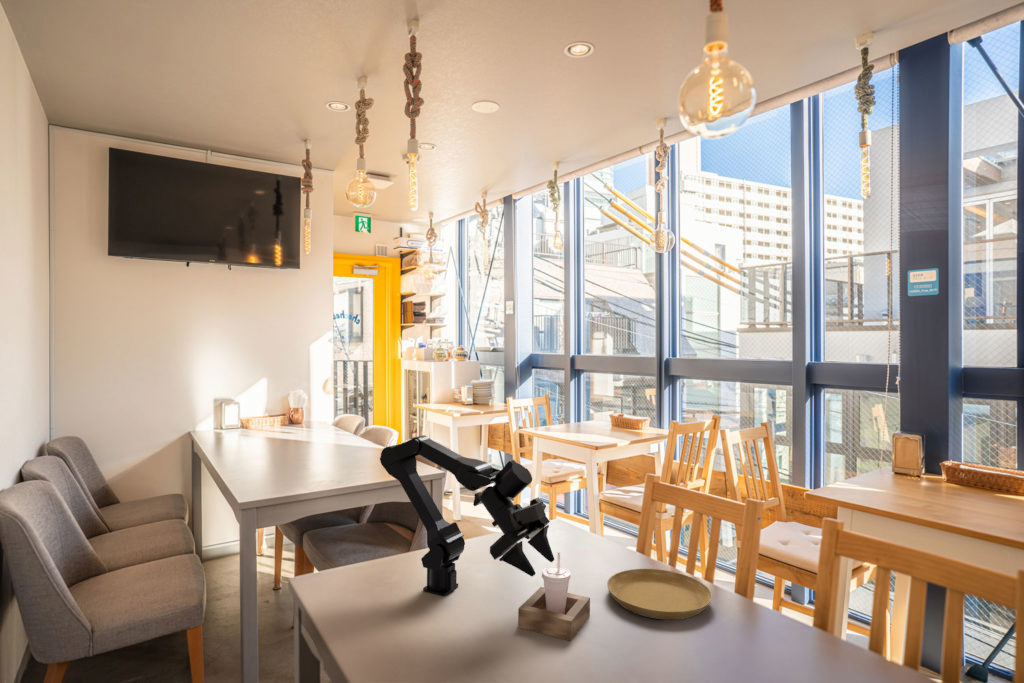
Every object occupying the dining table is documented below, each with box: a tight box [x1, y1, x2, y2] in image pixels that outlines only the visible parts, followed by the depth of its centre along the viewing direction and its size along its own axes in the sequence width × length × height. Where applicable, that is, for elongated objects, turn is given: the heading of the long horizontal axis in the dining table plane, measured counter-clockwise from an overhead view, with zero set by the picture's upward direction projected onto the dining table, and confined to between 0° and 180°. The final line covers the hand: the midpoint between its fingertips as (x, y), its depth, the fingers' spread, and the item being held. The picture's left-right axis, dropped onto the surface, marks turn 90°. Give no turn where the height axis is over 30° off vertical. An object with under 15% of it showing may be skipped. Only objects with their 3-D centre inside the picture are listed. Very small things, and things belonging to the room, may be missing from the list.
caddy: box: [517, 586, 591, 642], centre depth 124 cm, size 12×12×4 cm
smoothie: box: [541, 551, 572, 614], centre depth 124 cm, size 6×6×14 cm
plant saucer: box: [606, 568, 713, 621], centre depth 134 cm, size 24×24×3 cm
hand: (543, 567), depth 125 cm, fingers open, 9 cm apart
